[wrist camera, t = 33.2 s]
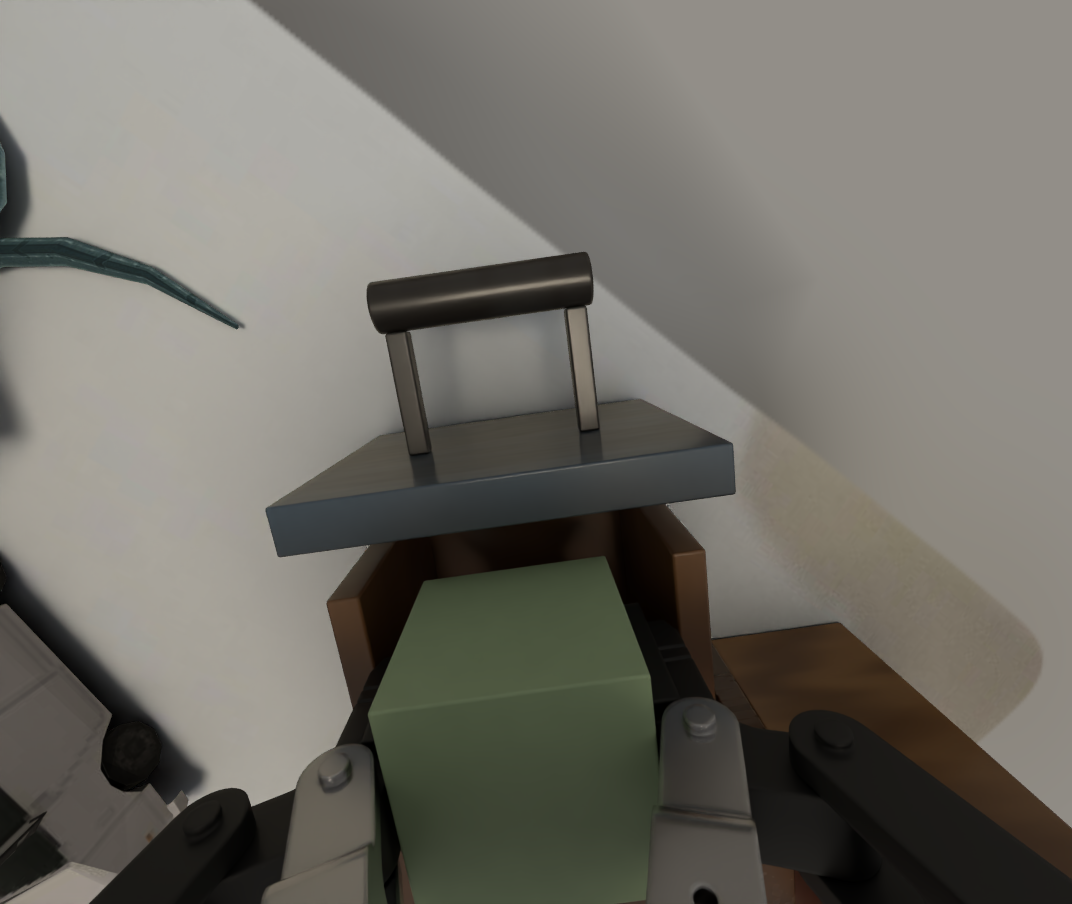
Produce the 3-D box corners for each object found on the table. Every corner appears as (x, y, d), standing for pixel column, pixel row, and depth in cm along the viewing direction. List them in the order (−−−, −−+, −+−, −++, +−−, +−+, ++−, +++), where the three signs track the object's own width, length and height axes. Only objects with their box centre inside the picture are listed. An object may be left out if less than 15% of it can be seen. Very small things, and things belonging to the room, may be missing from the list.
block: (605, 554, 12) (651, 675, 8) (623, 711, 13) (673, 898, 9) (422, 580, 12) (366, 713, 8) (455, 735, 13) (420, 931, 9)
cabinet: (406, 604, 22) (302, 834, 12) (666, 568, 22) (792, 769, 12) (448, 799, 24) (392, 1136, 14) (683, 767, 24) (802, 1083, 14)
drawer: (351, 306, 18) (200, 275, 10) (629, 267, 18) (721, 200, 10) (423, 648, 22) (356, 852, 13) (661, 616, 21) (753, 798, 13)
